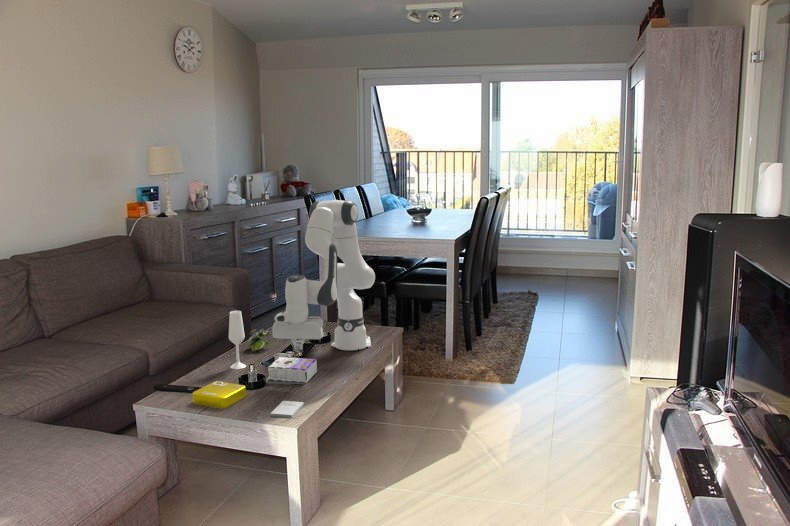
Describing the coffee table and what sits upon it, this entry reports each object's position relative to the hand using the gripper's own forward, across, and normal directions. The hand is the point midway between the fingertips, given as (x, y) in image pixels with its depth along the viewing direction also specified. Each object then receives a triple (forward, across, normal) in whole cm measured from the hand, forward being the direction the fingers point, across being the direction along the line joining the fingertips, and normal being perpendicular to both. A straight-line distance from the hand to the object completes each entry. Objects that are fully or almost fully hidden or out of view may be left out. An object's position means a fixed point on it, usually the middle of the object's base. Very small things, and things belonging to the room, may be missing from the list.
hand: (298, 349), depth 281 cm
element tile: (+13, +24, +26) cm, 37 cm away
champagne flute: (+12, +30, -12) cm, 35 cm away
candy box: (+9, -6, 0) cm, 11 cm away
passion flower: (+12, +29, -38) cm, 49 cm away
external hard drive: (+13, -4, +34) cm, 37 cm away
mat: (+12, +4, 0) cm, 13 cm away
